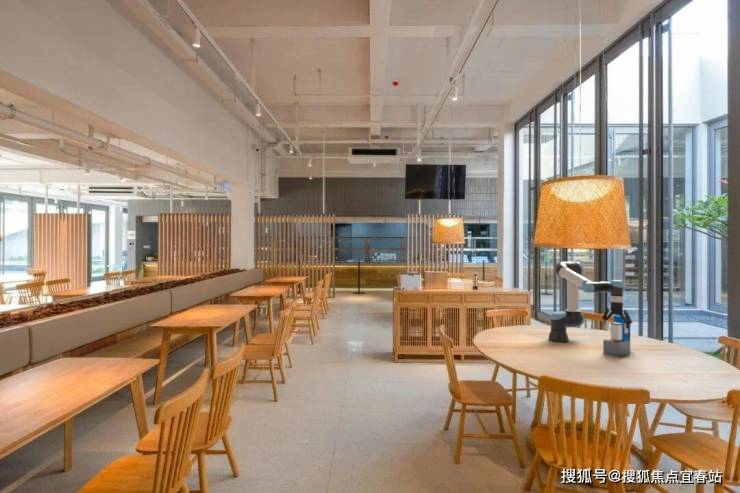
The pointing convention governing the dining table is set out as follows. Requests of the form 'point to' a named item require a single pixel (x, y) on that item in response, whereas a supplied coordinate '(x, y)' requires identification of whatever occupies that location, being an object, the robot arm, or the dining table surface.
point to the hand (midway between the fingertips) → (616, 331)
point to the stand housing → (616, 348)
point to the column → (616, 331)
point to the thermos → (623, 327)
